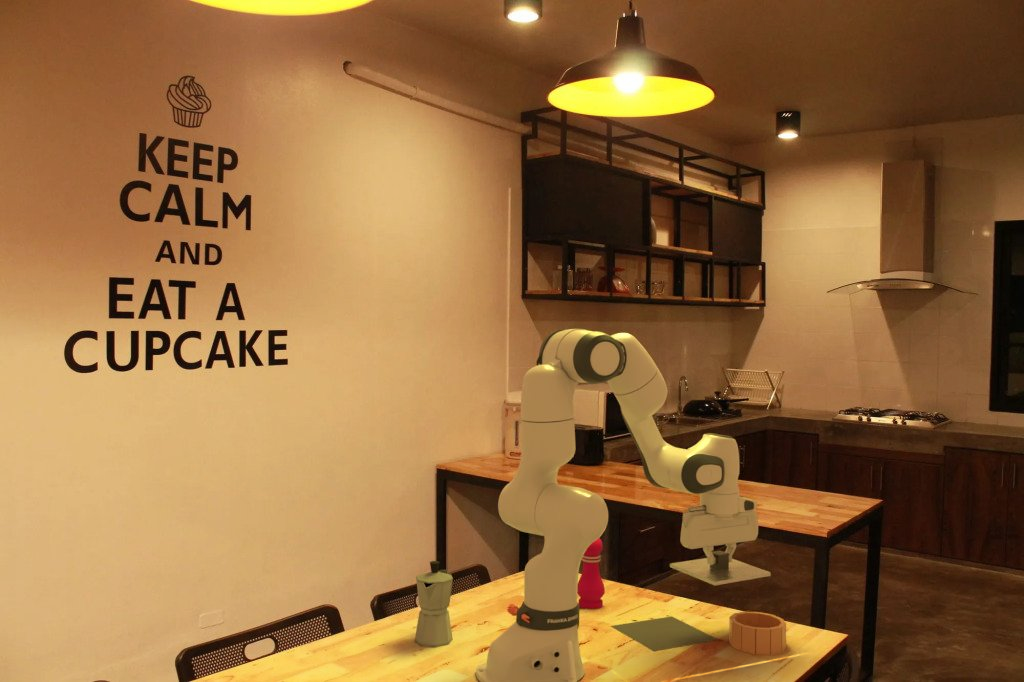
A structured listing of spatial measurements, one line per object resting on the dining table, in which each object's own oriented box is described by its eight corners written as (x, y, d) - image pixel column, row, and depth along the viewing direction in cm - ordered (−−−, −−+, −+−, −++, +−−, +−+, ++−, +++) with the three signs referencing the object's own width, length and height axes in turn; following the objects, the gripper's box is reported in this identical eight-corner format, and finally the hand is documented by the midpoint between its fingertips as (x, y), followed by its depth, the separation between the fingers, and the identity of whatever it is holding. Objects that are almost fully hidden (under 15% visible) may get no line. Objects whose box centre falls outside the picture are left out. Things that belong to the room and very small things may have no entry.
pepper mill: (582, 612, 213) (583, 533, 213) (572, 603, 220) (573, 527, 220) (608, 610, 215) (609, 532, 215) (598, 601, 222) (599, 526, 222)
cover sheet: (714, 585, 183) (714, 565, 183) (669, 567, 197) (669, 548, 197) (770, 575, 190) (770, 556, 190) (723, 558, 204) (723, 541, 204)
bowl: (754, 659, 182) (755, 632, 182) (718, 641, 193) (719, 615, 193) (796, 651, 187) (797, 624, 187) (759, 634, 198) (759, 609, 198)
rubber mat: (653, 653, 185) (653, 651, 185) (610, 628, 201) (610, 626, 201) (718, 641, 193) (718, 639, 193) (671, 618, 209) (671, 616, 209)
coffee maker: (444, 651, 184) (445, 570, 184) (406, 648, 186) (407, 567, 186) (462, 629, 199) (462, 553, 199) (426, 626, 201) (427, 551, 201)
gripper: (692, 510, 186) (692, 572, 186) (762, 501, 195) (762, 561, 195) (674, 505, 191) (674, 565, 191) (743, 497, 200) (743, 554, 200)
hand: (719, 563), depth 193 cm, fingers closed on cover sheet, 3 cm apart
